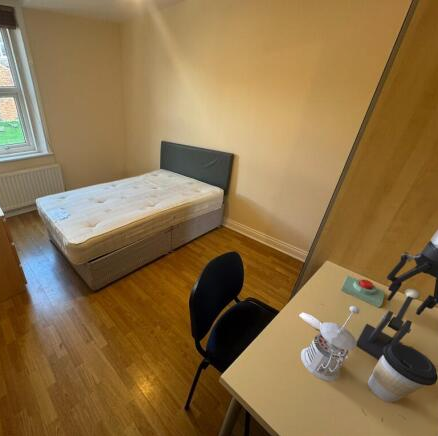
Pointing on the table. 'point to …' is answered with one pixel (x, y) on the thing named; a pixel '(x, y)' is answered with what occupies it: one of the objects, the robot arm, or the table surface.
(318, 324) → the white rounded bar
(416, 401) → the table surface
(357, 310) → the french press
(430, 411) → the table surface
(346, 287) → the button block
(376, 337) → the black lever stand
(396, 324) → the lever switch
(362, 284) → the power button
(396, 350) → the coffee cup
